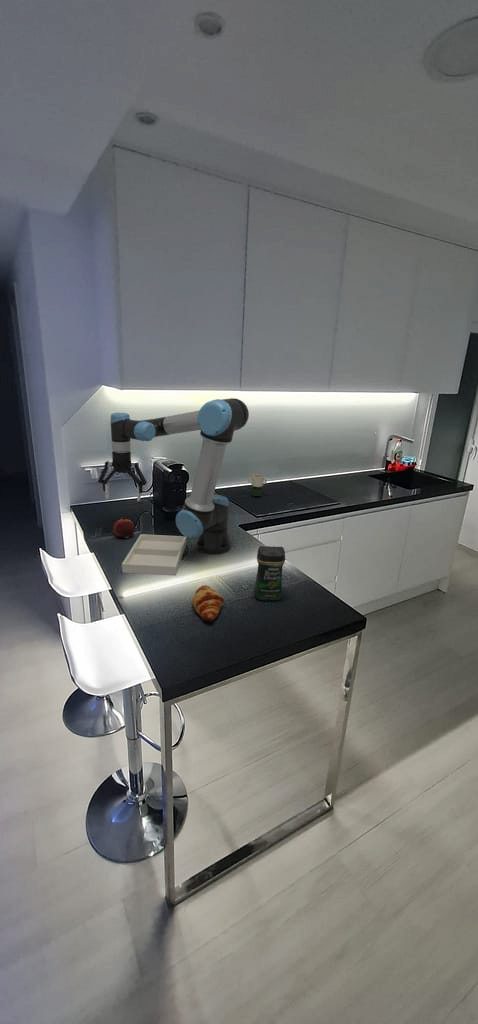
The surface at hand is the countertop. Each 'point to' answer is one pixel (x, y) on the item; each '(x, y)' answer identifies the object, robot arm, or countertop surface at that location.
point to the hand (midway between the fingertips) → (123, 499)
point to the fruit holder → (155, 555)
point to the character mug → (257, 484)
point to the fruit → (123, 528)
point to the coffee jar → (269, 573)
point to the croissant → (207, 602)
